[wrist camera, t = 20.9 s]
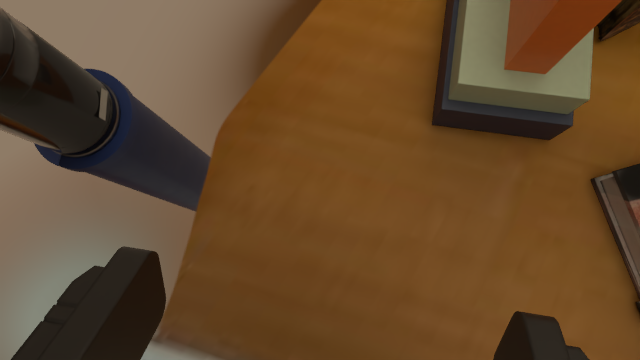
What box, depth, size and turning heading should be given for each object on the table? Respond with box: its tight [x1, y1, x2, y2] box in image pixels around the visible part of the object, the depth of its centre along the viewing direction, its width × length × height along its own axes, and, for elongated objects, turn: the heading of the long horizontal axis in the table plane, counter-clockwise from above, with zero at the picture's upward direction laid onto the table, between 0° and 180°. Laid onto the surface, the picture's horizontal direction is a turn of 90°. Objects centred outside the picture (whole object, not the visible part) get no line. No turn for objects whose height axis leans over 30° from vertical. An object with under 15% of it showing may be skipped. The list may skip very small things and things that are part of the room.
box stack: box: [432, 0, 594, 140], centre depth 46 cm, size 12×20×9 cm, turn 171°
